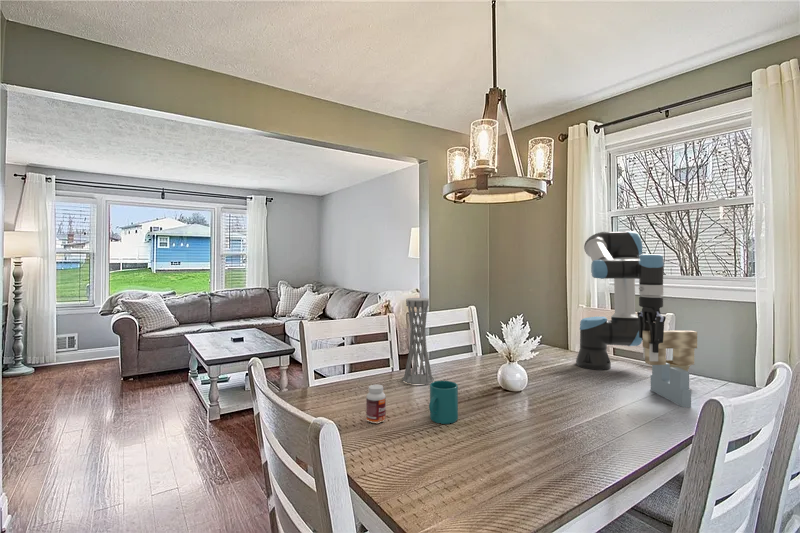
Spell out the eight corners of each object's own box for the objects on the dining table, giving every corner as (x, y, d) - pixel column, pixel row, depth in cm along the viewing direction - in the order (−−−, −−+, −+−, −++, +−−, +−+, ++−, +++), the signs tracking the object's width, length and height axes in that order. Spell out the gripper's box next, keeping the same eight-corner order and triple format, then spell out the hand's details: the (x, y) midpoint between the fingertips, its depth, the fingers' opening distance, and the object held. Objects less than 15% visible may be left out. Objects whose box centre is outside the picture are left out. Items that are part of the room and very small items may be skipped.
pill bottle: (381, 425, 125) (381, 390, 125) (363, 423, 127) (363, 388, 127) (388, 418, 131) (388, 384, 131) (370, 415, 133) (370, 382, 133)
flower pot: (681, 380, 169) (681, 360, 169) (696, 387, 160) (696, 366, 159) (658, 380, 170) (658, 359, 170) (670, 387, 161) (670, 365, 160)
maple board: (647, 364, 146) (647, 332, 146) (642, 362, 149) (642, 330, 149) (697, 364, 146) (697, 331, 146) (691, 362, 149) (691, 330, 149)
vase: (439, 379, 173) (439, 298, 172) (424, 387, 162) (424, 301, 161) (412, 374, 180) (412, 296, 180) (396, 382, 169) (395, 299, 168)
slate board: (650, 390, 157) (650, 359, 157) (658, 390, 157) (658, 359, 157) (682, 407, 139) (682, 372, 139) (691, 407, 139) (691, 372, 139)
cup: (418, 422, 127) (418, 387, 127) (440, 411, 136) (440, 378, 136) (442, 430, 121) (442, 393, 121) (463, 418, 131) (463, 384, 130)
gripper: (628, 294, 155) (628, 354, 156) (654, 298, 139) (653, 365, 140) (647, 294, 155) (647, 354, 156) (676, 298, 139) (675, 365, 140)
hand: (650, 359), depth 148 cm, fingers closed on maple board, 3 cm apart
